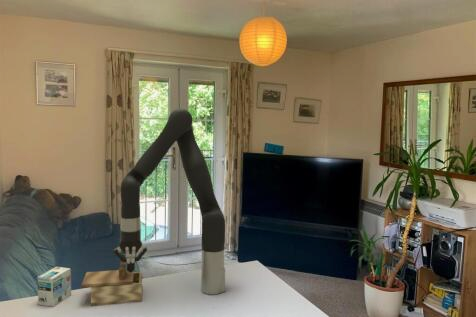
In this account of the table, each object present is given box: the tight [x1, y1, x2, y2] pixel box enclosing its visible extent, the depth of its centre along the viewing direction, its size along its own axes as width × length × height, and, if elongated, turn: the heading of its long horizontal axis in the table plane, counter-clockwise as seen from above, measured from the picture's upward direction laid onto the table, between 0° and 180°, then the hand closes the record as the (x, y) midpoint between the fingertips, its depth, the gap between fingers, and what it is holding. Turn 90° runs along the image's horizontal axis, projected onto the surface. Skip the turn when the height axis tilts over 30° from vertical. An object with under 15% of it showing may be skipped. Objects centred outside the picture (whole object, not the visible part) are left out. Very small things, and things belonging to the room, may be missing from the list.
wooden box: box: [90, 271, 143, 307], centre depth 144 cm, size 18×12×7 cm, turn 103°
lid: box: [80, 261, 135, 288], centre depth 143 cm, size 18×12×5 cm, turn 103°
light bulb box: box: [37, 266, 72, 307], centre depth 141 cm, size 11×7×11 cm, turn 168°
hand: (130, 271), depth 145 cm, fingers closed
